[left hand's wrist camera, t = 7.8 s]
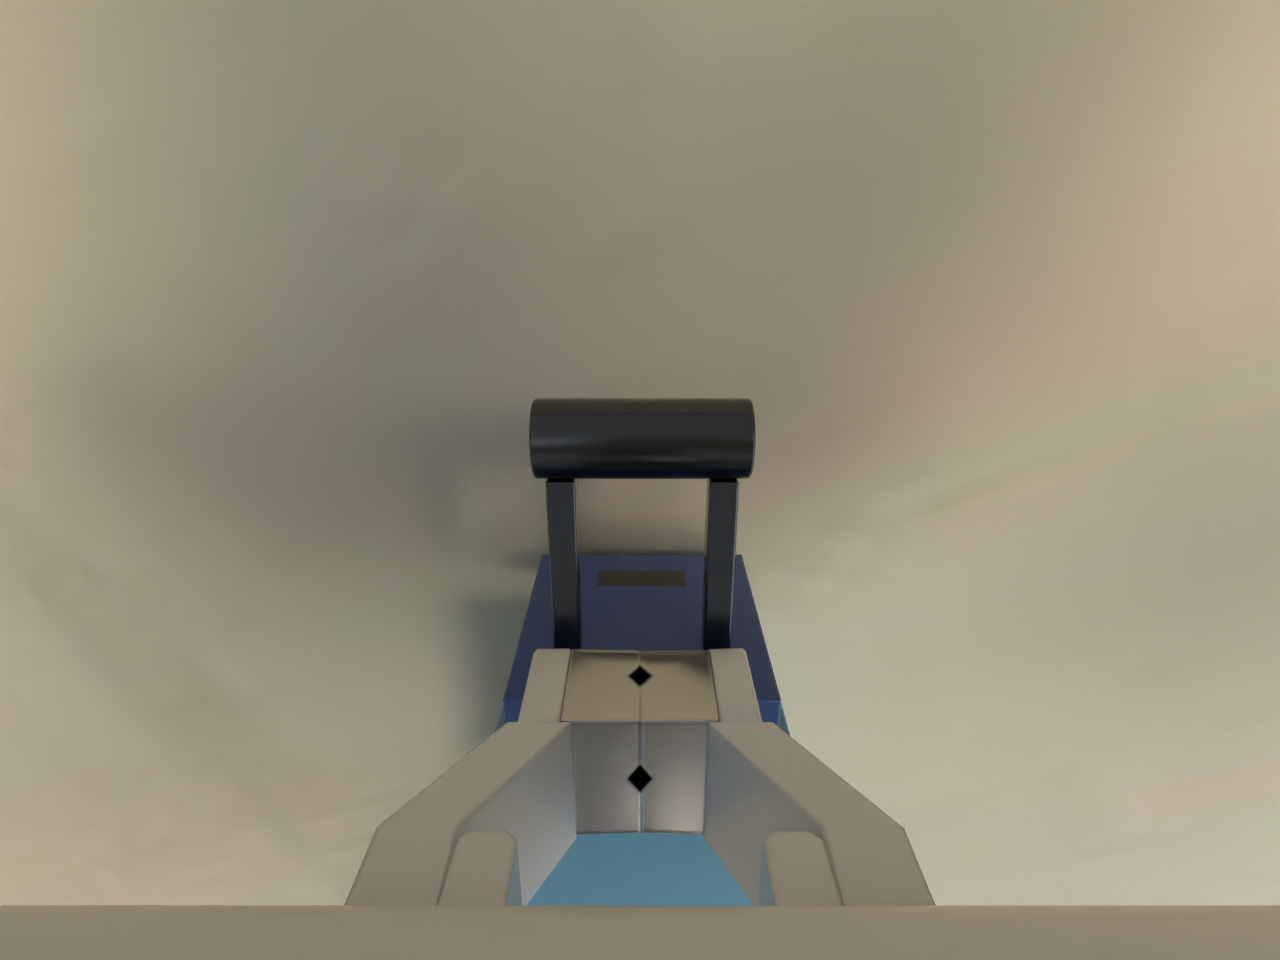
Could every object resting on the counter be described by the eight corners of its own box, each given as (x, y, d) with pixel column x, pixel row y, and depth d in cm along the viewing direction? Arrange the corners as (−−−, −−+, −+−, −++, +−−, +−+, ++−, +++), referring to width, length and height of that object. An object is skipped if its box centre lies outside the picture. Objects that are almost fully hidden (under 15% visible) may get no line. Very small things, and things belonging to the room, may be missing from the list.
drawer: (530, 352, 19) (479, 429, 13) (753, 352, 19) (805, 429, 13) (566, 1013, 28) (547, 1235, 22) (715, 1013, 28) (735, 1235, 22)
